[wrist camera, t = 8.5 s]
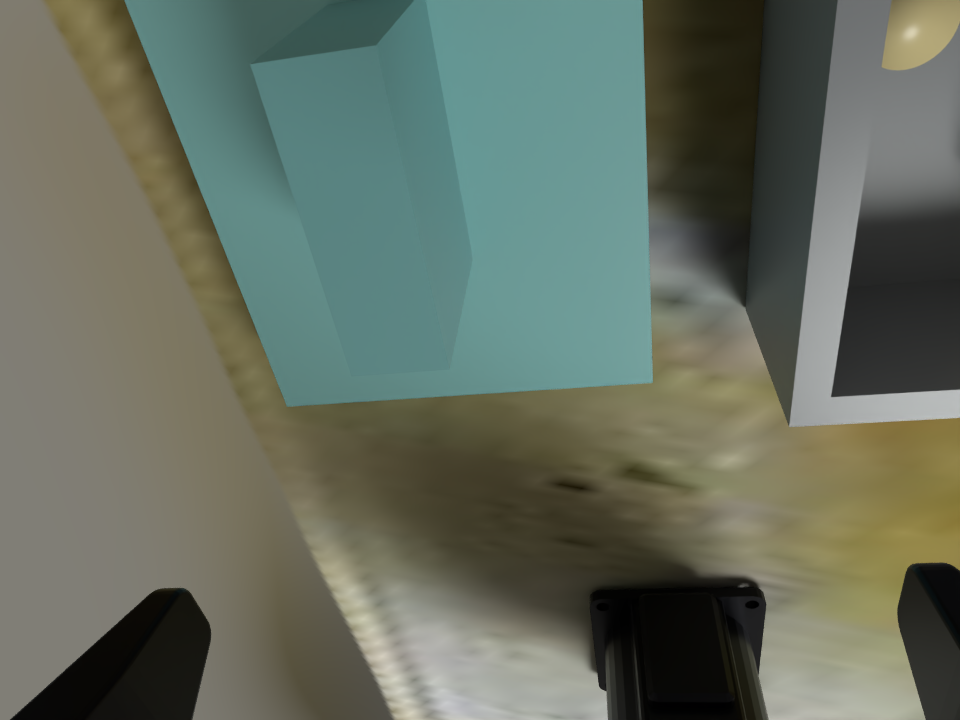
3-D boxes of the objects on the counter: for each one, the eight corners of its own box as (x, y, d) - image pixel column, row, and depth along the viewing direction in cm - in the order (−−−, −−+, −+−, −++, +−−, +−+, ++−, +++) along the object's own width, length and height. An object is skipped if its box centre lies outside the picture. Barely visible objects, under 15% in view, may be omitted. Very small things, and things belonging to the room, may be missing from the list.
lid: (645, 334, 21) (672, 510, 16) (309, 360, 23) (230, 526, 18) (623, -327, 13) (664, -433, 8) (103, -211, 15) (-164, -230, 9)
